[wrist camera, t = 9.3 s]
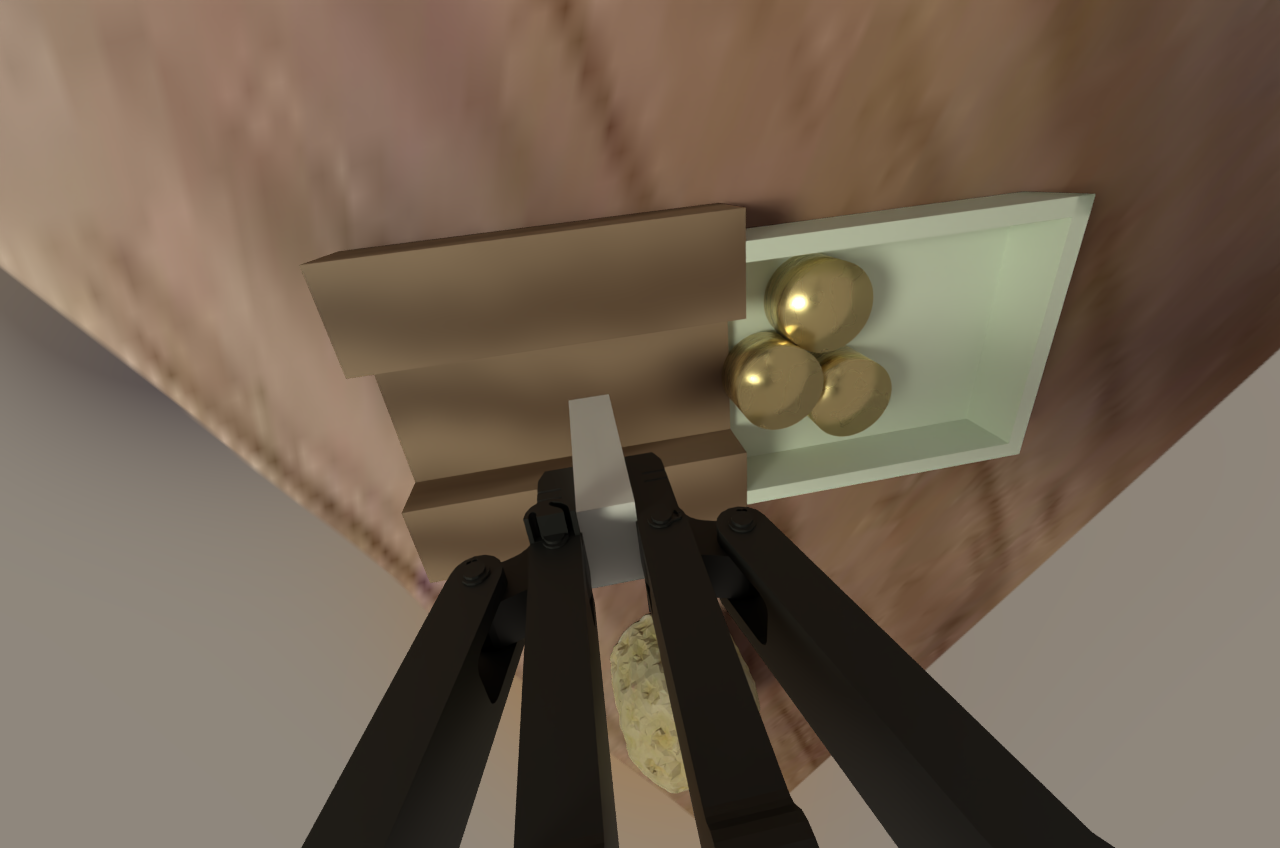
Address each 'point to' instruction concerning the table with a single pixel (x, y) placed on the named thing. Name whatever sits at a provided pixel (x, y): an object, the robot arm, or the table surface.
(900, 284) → the tray
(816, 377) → the chip
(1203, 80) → the table surface
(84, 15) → the table surface
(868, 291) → the chip
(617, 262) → the slot board
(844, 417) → the chip
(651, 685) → the decorative object
